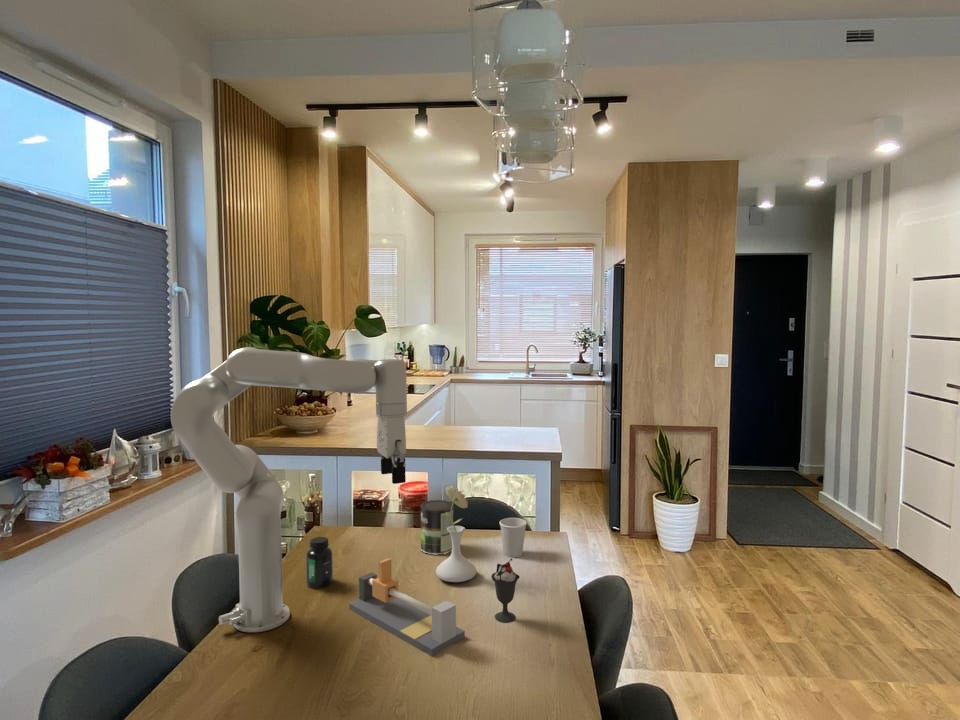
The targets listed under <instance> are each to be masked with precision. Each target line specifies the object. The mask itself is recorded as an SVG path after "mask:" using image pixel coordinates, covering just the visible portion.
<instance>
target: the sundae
mask: <svg viewBox="0 0 960 720" xmlns="http://www.w3.org/2000/svg"><path fill="white" fill-rule="evenodd" d="M509 558H510V557H509ZM513 559H514V558H510V559H509V560H508V561H507V562H505V563H504V564H500V563H497V565H496V572H493V573H492V574H491V580H492V581H493V582H494V589H495V594H496V598H497V601H499V602H500V603H501V604H502V610H501V611H500V612H497V613H496V614H495V615H494V619H495V620H496V621H498V622H500V623H512V622H514V621H515V620H516V615H515V614H514V613H512V612H510V611H508V605H509V603H511V602H512V601H513V600H514V597H515V590H516V585H517V582H518V580H519V579H520V575H519V574H517V573H516V572H514V569H513V568H512V566H511V562H512V561H513Z"/></svg>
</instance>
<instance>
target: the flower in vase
mask: <svg viewBox="0 0 960 720" xmlns="http://www.w3.org/2000/svg"><path fill="white" fill-rule="evenodd" d="M445 492H446V495H447V497H448V498H449V500H450V502H451V503H453V504H452V507H451V511H450V515H449V514H448V513H447V512H446V513H445V515H444V516H446V517H448V518H449V519H450V520H452V516H451V512H452V508H453V509H454V506H453V505H456V506H457V507H459V508H461V509H466V508H469V507H468V504H469V501H468V499H467V498H466V495H465V494H464V493H462V492H461V491H459V488H458V487H454V486H453V485H449V486H447V487H446V488H445ZM463 519H464V517H462V518H458V519H457V520H456V521H454V519H453V520H452V523H453V526H450V527H448V528H447V530H448V532H449V533H450V535H451V539H452V551H451V552H450V555H449V557H447V558H446V559H444V560H443V561H442V562H440V564H438V565H437V567H436V569H435V575H436V576H437V577H438V578H439V579H440V580H442V581H445V582H448V583H462V582H466V581H469V580H472V579H473V578H474V577H475V576H476V575H477V573H478V572H477V571H478V570H477V567H476V566H475V565H474V564H473V563H472V562H471V561H470V560H469V559H468V558H465V557H464V555H462V553H461V540H462V536H463V533H464V532H465V531H466V528H465V527H464V526H461V525H455V524H457V523H459V522H460V521H462V520H463Z"/></svg>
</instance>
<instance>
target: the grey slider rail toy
mask: <svg viewBox="0 0 960 720" xmlns="http://www.w3.org/2000/svg"><path fill="white" fill-rule="evenodd" d="M376 578H378V575H377V573H374V572H370V573H367V574H365V575H362V576H359V577H358V599H356V600H353V601H351V602H349V603H348V609H349V610H350V611H352V612H354V613H356V614H357V615H359V616H360V617H363V618H365V620H368V621H370V622H371V623H373V624H375V625H376V626H378V627H380V628H382V629H384V630H385V631H387V632H389V633H391V634H392V635H394V636H396V637H398V638H399V639H400V640H403V641H405V642H407V643H408V644H409V645H411V646H414V647H415V648H417V649H419V650H420V651H422V652H424V653H426V654H427V655H429V656H431V657H433V656H435V655H436V654H438V653H440V652H441V651H443V650H445V649H446V648H449V647H450V646H452V645H454V644H456V643H458V642H459V641H460V640H463V639H465V636H466V634H465V633H466V631H465V630H464V629H462V628H460V627H458V626H457V624H456V623H457V604H455V603H452V602H450V601H448V600H444V601H443V602H441V603H439V604H436V605H434V606H431V605H428V604H426V603H424V602H422V601H420V600H418V599H417V598H415V597H413V596H412V597H411V596H410V595H407V594H406V593H404V592H401V591H399V589H398V590H396V589H393V588H391V587H390V588H388V594H389V595H391V596H393V597H395V599H393V600H391V601H388V602H386V603H385V602H383V601H381V600H379V599H377V598H375V597H373V595H372V580H374V579H376Z"/></svg>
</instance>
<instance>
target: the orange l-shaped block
mask: <svg viewBox="0 0 960 720" xmlns="http://www.w3.org/2000/svg"><path fill="white" fill-rule="evenodd" d="M390 587H391V588H393V589H396V590H398V591H399V580H398V579H395V578H393V577H392V558H389V557H388V558H385V559H382V560H380V561H378V577H377V578H376V579H374V580H372V595H373V597H375V598H377V599H379V600H381V601H383V602H385V603H386V602H388V601H391V600H393V599H395V597H393V596H391V595H389V594H388V588H390Z"/></svg>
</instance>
